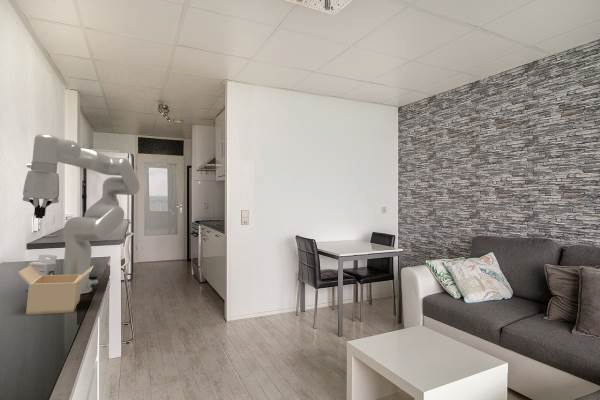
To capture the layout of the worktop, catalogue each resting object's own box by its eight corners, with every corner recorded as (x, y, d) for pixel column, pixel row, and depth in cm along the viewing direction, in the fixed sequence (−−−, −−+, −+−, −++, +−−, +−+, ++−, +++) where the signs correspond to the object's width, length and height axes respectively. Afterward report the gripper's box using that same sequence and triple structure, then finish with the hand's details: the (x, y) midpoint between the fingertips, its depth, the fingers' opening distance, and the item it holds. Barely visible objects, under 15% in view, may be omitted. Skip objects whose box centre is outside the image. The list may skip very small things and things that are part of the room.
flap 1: (30, 283, 112) (28, 284, 111) (39, 275, 124) (38, 276, 124) (18, 271, 110) (17, 272, 110) (29, 265, 123) (28, 266, 122)
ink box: (25, 291, 139) (28, 255, 140) (35, 288, 144) (39, 254, 145) (44, 293, 138) (47, 256, 139) (54, 290, 143) (57, 255, 144)
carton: (37, 302, 124) (40, 275, 125) (79, 300, 130) (82, 274, 131) (25, 315, 110) (29, 284, 111) (73, 312, 116) (76, 282, 116)
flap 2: (81, 274, 130) (82, 275, 130) (76, 281, 117) (77, 282, 118) (92, 265, 131) (93, 266, 131) (89, 271, 119) (90, 272, 119)
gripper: (15, 165, 119) (10, 217, 118) (66, 170, 125) (61, 219, 124) (22, 167, 125) (16, 216, 124) (70, 172, 132) (65, 218, 131)
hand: (39, 218), depth 124 cm, fingers closed
